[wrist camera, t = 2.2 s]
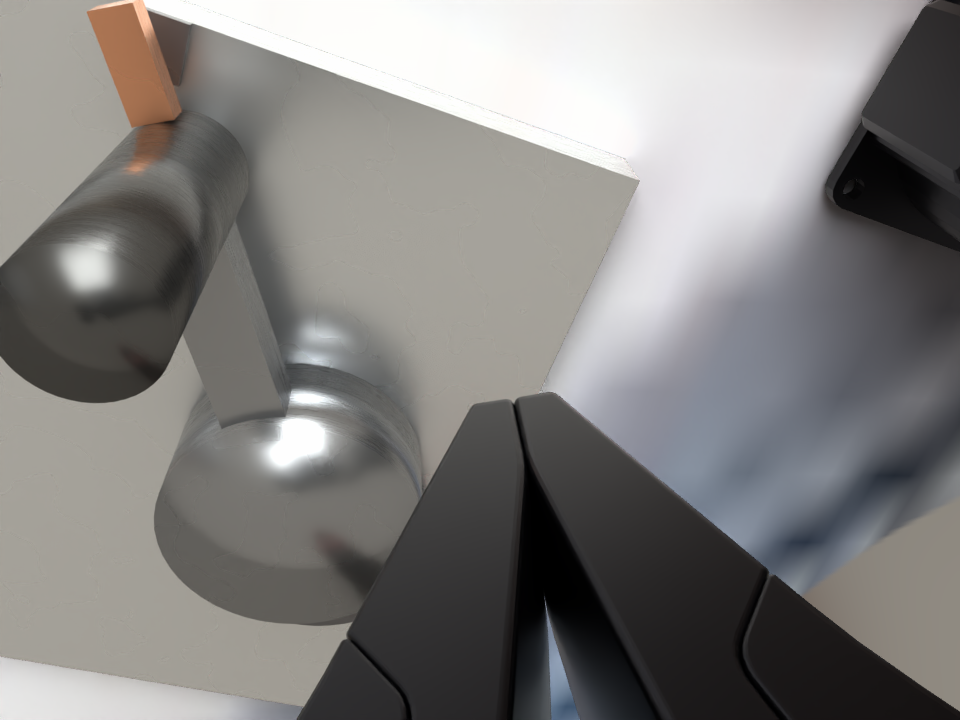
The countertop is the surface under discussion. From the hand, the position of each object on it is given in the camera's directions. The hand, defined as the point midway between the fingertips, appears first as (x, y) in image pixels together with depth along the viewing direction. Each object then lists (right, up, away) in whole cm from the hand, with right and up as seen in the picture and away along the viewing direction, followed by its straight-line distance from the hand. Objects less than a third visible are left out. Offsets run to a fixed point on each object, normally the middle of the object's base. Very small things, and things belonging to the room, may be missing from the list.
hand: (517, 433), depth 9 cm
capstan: (-5, +1, +11) cm, 12 cm away
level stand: (-9, 0, +13) cm, 16 cm away
